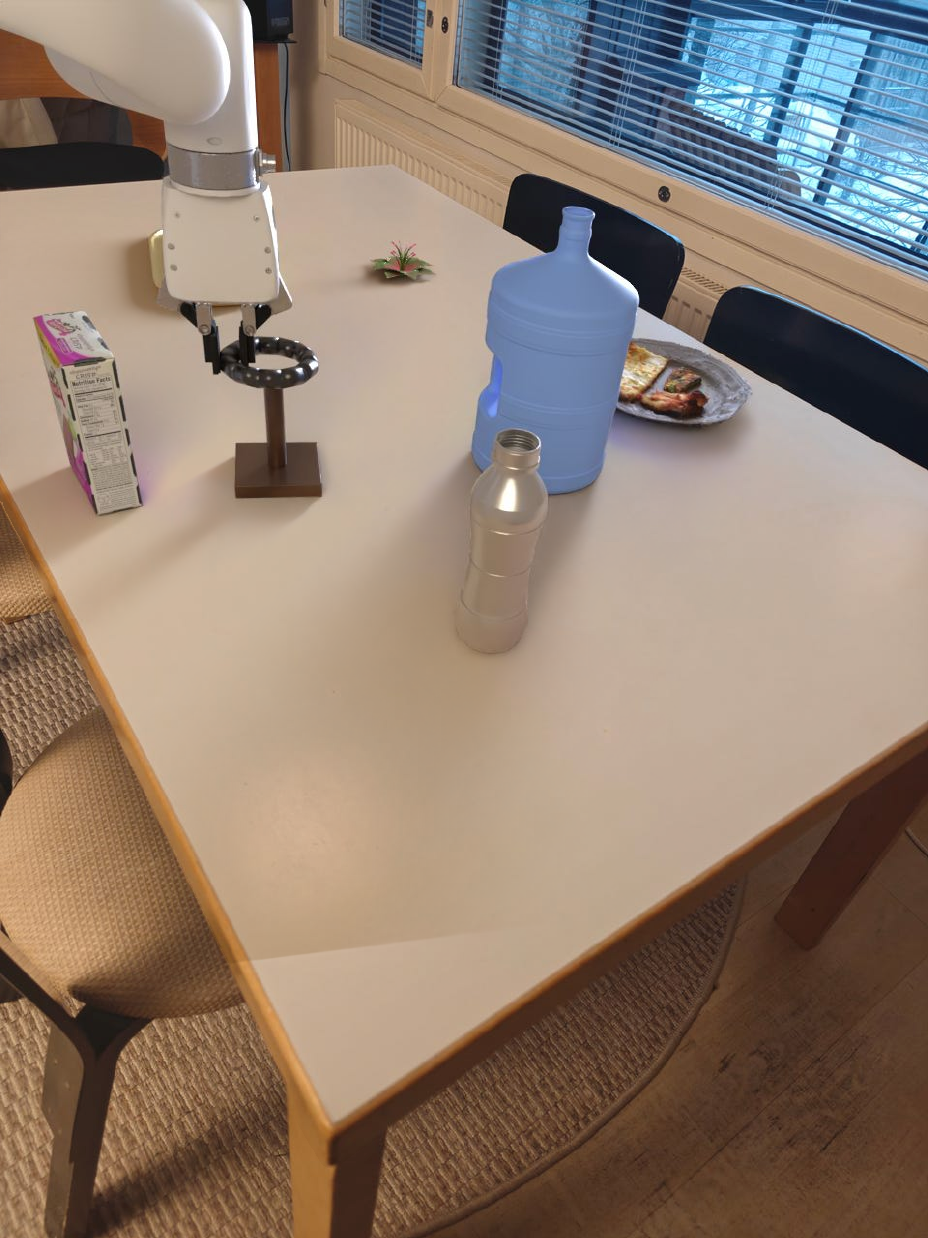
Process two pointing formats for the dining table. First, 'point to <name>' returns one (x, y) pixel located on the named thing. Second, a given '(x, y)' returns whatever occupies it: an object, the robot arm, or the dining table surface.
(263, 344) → the ring
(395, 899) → the dining table surface
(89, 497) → the candy bar box
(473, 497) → the plastic bottle
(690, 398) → the food plate
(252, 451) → the post
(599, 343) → the water jug
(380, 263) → the lily flower
